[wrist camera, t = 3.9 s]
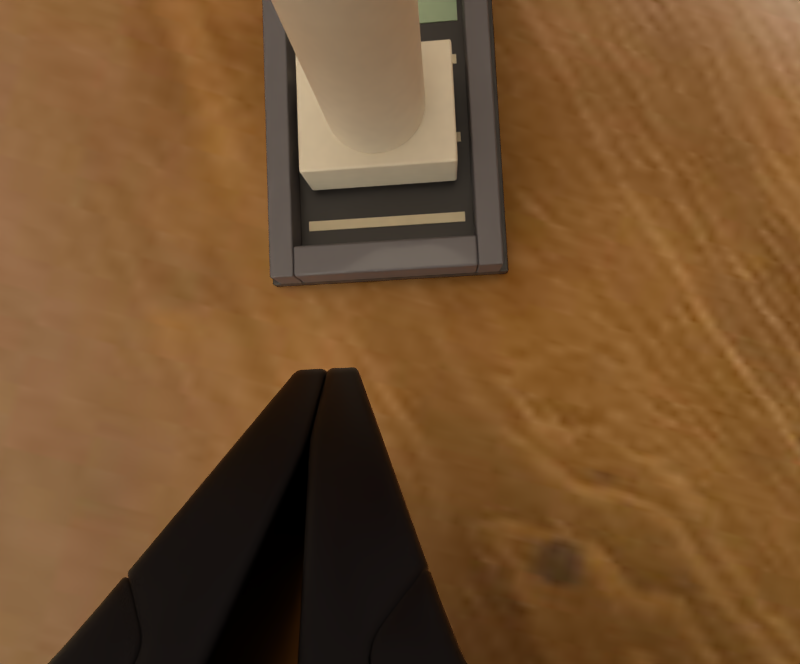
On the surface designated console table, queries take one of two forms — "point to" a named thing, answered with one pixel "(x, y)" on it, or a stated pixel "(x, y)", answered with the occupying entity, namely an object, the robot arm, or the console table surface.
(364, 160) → the score marker
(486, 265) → the tray
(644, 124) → the console table surface
